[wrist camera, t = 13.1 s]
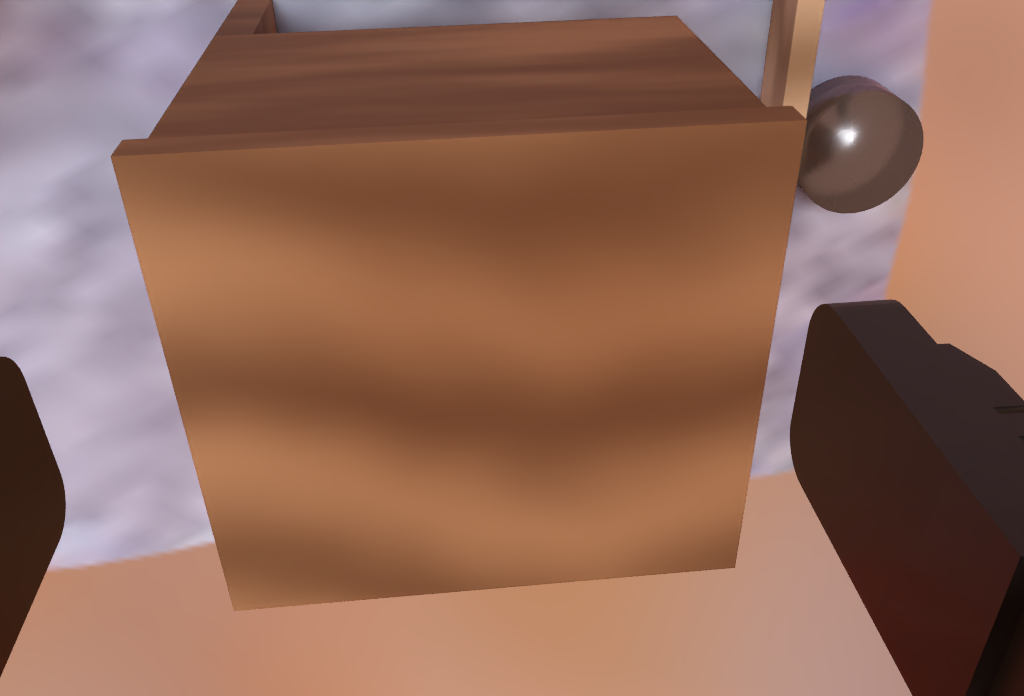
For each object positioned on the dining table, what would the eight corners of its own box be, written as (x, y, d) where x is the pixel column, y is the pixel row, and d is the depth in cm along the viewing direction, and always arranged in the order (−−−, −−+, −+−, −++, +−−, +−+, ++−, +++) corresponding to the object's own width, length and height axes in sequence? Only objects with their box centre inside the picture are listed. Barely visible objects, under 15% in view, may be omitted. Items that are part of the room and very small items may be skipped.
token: (780, 85, 38) (802, 105, 35) (901, 65, 38) (930, 84, 36) (777, 197, 40) (797, 222, 38) (889, 178, 40) (916, 202, 38)
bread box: (228, -9, 33) (111, 156, 20) (670, -27, 35) (837, 118, 21) (289, 331, 42) (234, 610, 28) (646, 308, 43) (756, 565, 29)
